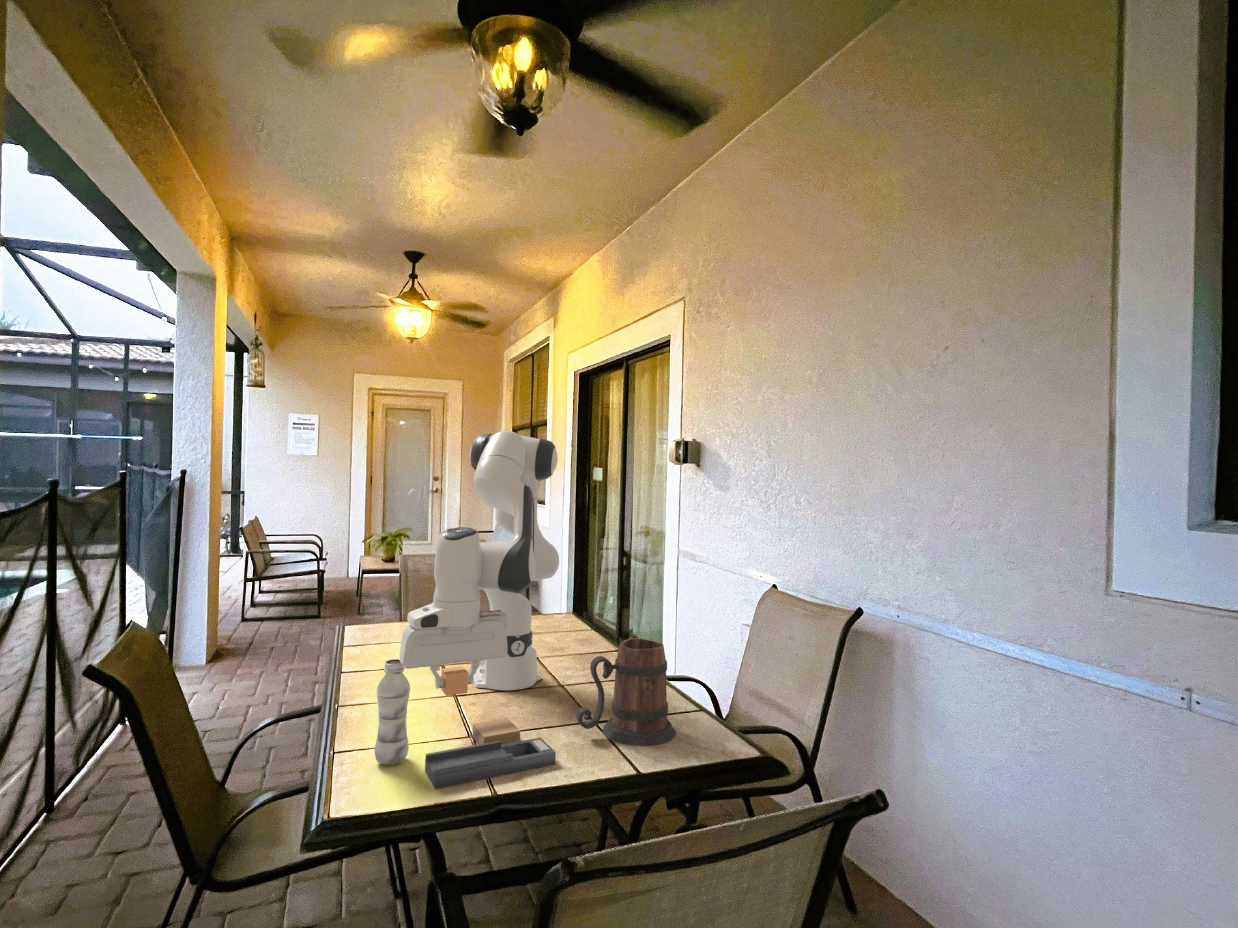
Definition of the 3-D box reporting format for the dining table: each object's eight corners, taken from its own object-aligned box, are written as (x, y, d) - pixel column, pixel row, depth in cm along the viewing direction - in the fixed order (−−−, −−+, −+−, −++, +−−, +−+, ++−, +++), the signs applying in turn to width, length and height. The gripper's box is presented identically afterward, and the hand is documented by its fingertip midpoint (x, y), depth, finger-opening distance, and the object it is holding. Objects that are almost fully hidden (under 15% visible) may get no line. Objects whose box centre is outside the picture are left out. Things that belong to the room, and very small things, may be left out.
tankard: (656, 713, 162) (658, 632, 162) (689, 740, 146) (691, 650, 147) (565, 725, 153) (567, 638, 153) (589, 754, 138) (592, 658, 138)
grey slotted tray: (424, 771, 128) (425, 753, 128) (540, 749, 140) (540, 732, 140) (434, 789, 121) (435, 770, 121) (555, 764, 133) (555, 746, 133)
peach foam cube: (441, 689, 127) (441, 668, 127) (461, 686, 129) (462, 666, 129) (446, 695, 124) (447, 674, 124) (467, 692, 126) (468, 671, 126)
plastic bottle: (412, 755, 135) (415, 657, 135) (402, 769, 128) (405, 666, 128) (380, 754, 135) (383, 656, 135) (369, 769, 128) (372, 666, 128)
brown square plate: (472, 737, 145) (472, 723, 145) (507, 731, 149) (507, 717, 149) (483, 751, 138) (484, 736, 138) (519, 744, 142) (520, 730, 142)
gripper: (502, 606, 135) (500, 674, 134) (399, 613, 125) (396, 687, 124) (513, 612, 129) (511, 682, 129) (405, 620, 119) (403, 697, 119)
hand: (454, 685), depth 126 cm, fingers closed on peach foam cube, 4 cm apart
